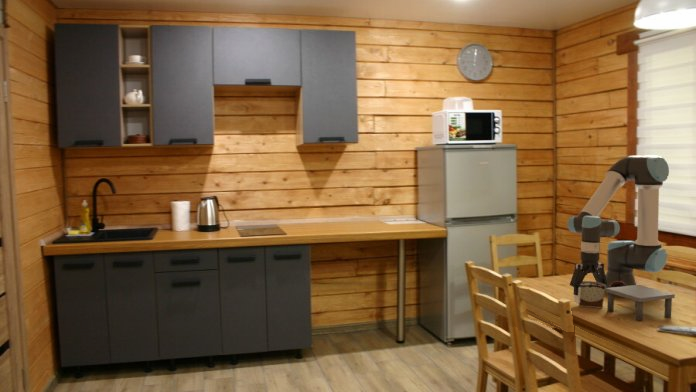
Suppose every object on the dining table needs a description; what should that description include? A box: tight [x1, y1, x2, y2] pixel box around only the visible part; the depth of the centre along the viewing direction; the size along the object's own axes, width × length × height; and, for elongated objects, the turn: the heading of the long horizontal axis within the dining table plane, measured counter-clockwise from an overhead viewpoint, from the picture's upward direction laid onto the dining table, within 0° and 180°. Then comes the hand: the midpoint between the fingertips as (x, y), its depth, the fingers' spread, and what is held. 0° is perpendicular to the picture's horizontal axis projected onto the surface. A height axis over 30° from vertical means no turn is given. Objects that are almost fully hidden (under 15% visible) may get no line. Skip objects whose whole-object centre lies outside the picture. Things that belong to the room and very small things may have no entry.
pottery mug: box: [609, 281, 628, 296], centre depth 271 cm, size 12×10×8 cm
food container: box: [578, 280, 606, 309], centre depth 255 cm, size 12×6×10 cm, turn 71°
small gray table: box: [605, 284, 676, 322], centre depth 241 cm, size 18×18×10 cm
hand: (587, 301), depth 255 cm, fingers open, 11 cm apart
